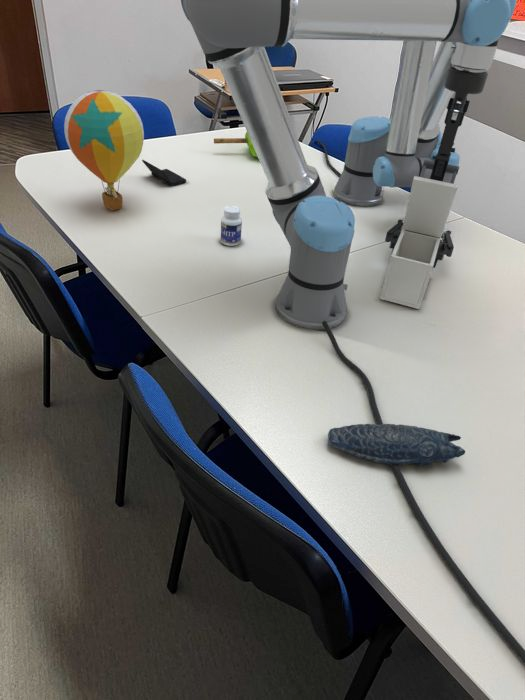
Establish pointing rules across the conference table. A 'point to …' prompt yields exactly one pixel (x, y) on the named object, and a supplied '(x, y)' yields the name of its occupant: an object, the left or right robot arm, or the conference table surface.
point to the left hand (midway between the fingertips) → (434, 185)
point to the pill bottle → (231, 226)
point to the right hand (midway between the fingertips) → (414, 257)
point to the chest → (410, 269)
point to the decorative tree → (238, 140)
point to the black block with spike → (165, 175)
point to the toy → (105, 138)
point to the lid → (430, 202)
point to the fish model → (395, 443)
